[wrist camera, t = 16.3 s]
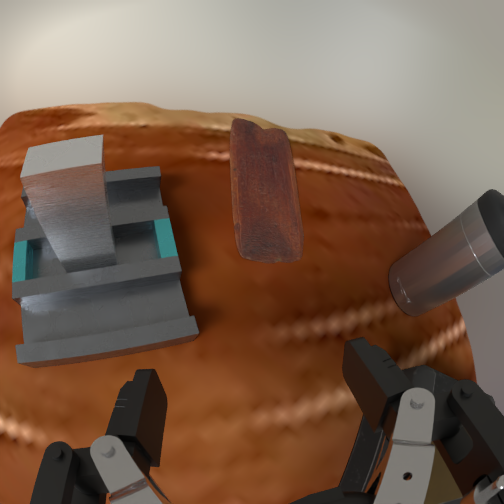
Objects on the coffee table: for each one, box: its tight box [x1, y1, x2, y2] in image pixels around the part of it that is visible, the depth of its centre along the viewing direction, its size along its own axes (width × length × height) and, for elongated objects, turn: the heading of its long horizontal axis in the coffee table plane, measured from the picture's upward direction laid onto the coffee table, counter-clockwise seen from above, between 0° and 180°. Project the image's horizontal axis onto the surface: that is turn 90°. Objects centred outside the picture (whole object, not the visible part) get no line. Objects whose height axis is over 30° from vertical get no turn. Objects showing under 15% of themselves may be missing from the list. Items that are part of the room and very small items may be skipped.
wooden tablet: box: [230, 118, 304, 263], centre depth 37 cm, size 27×10×2 cm, turn 2°
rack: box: [12, 166, 199, 368], centre depth 22 cm, size 16×18×4 cm
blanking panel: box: [20, 135, 118, 273], centre depth 17 cm, size 5×2×13 cm, turn 110°
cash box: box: [339, 365, 495, 504], centre depth 21 cm, size 25×20×8 cm
